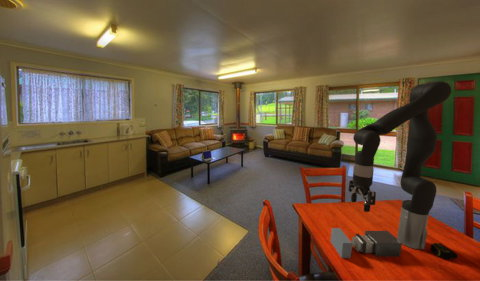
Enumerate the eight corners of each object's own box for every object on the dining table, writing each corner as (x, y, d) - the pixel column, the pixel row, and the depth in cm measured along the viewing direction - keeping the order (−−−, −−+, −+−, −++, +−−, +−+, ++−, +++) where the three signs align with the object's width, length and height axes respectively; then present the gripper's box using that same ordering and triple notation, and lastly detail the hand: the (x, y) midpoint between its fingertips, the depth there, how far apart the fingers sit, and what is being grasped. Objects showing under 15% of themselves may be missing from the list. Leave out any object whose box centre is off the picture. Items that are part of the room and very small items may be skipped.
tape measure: (457, 261, 76) (459, 253, 75) (441, 261, 76) (442, 253, 75) (440, 249, 82) (442, 242, 82) (425, 248, 83) (426, 241, 82)
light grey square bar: (386, 244, 85) (387, 233, 84) (396, 253, 79) (398, 242, 78) (350, 244, 86) (351, 233, 85) (358, 253, 80) (359, 242, 79)
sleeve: (385, 243, 86) (387, 230, 85) (399, 256, 78) (401, 242, 77) (363, 243, 86) (365, 230, 85) (375, 256, 79) (377, 242, 78)
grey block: (338, 241, 88) (339, 228, 87) (350, 258, 78) (352, 243, 77) (330, 241, 88) (331, 228, 87) (341, 258, 78) (342, 243, 77)
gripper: (345, 168, 88) (342, 199, 91) (366, 179, 74) (362, 215, 77) (359, 168, 88) (357, 198, 91) (383, 179, 74) (379, 214, 77)
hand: (359, 206), depth 84 cm, fingers open, 8 cm apart
